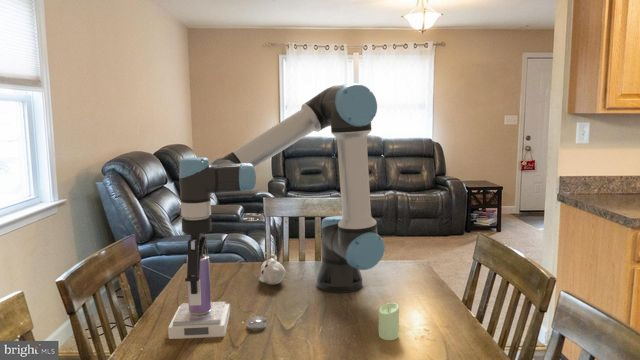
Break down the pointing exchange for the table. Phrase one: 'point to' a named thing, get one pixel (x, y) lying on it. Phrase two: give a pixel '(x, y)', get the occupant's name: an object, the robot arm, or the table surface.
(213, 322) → the pan
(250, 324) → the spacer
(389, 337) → the candle
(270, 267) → the cat figurine
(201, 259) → the beverage can
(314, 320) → the table surface
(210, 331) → the base
